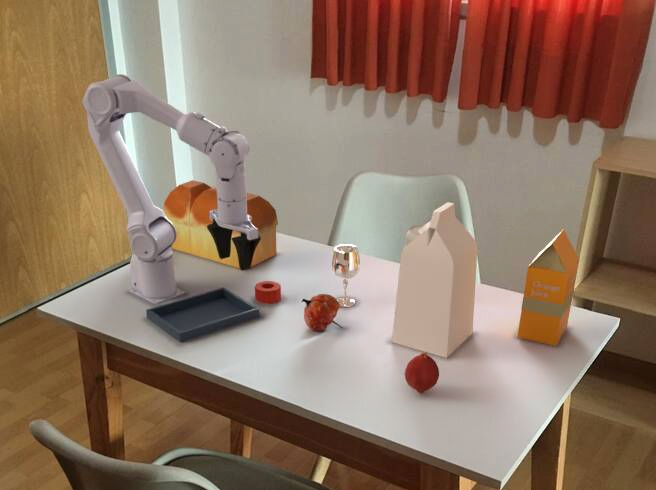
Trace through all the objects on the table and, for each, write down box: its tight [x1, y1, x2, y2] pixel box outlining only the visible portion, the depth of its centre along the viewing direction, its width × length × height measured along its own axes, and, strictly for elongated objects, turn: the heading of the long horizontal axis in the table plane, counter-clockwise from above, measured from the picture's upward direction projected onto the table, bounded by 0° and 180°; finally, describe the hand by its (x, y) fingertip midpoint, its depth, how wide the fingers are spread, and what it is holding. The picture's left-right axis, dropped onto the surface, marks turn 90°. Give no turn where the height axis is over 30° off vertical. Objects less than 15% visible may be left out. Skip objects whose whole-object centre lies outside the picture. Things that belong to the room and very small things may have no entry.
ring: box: [254, 280, 282, 305], centre depth 173 cm, size 5×5×3 cm
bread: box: [163, 179, 279, 269], centre depth 194 cm, size 25×12×15 cm, turn 55°
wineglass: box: [331, 244, 361, 308], centre depth 170 cm, size 6×6×12 cm
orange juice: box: [517, 228, 580, 347], centre depth 157 cm, size 8×9×20 cm
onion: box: [404, 351, 440, 394], centre depth 140 cm, size 6×6×8 cm
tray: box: [145, 286, 261, 343], centre depth 166 cm, size 13×18×2 cm
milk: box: [391, 201, 478, 359], centre depth 153 cm, size 12×12×26 cm
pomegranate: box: [300, 293, 344, 333], centre depth 161 cm, size 7×7×10 cm
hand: (235, 263), depth 167 cm, fingers open, 7 cm apart
